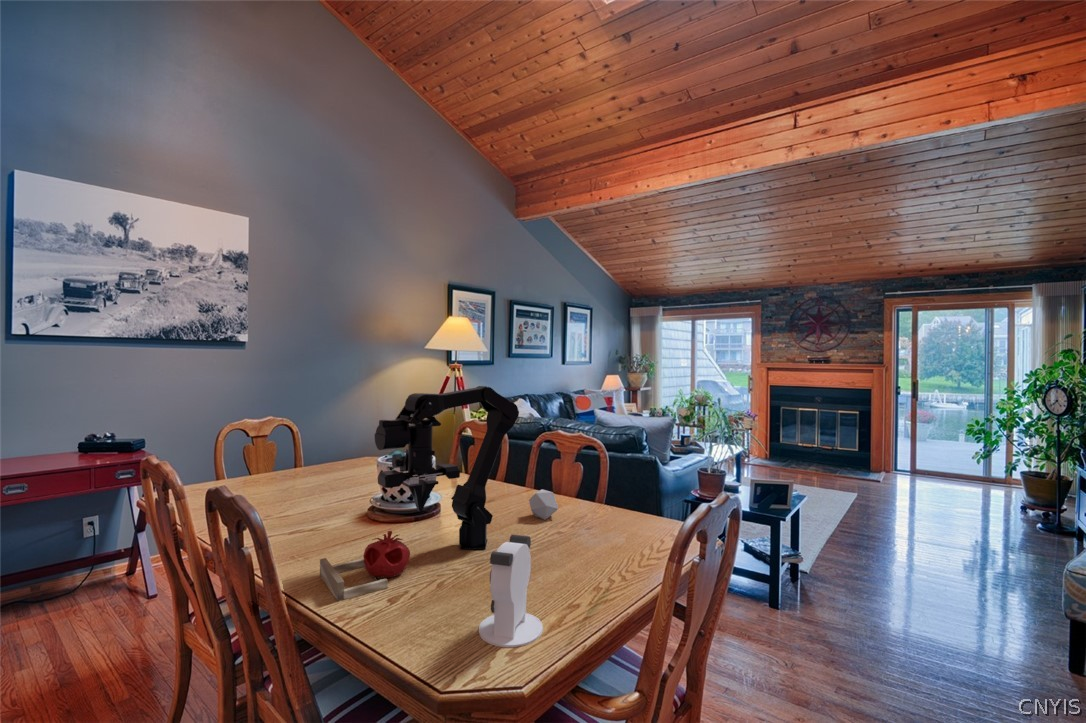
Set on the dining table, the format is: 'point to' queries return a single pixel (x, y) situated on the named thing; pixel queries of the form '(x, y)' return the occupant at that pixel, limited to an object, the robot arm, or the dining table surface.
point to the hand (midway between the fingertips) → (419, 510)
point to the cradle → (337, 583)
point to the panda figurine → (510, 597)
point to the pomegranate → (386, 557)
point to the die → (543, 504)
